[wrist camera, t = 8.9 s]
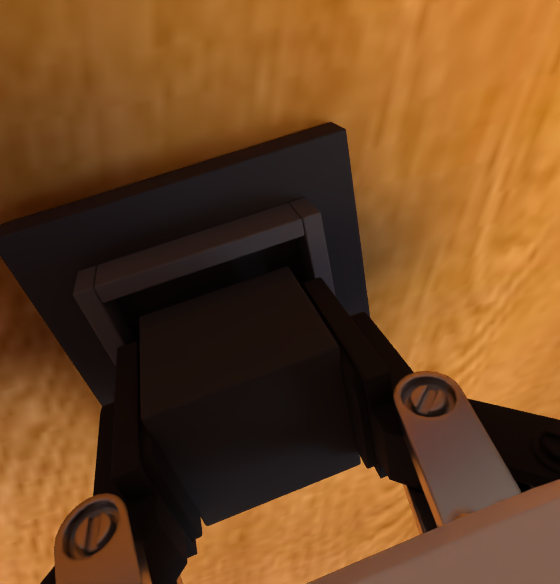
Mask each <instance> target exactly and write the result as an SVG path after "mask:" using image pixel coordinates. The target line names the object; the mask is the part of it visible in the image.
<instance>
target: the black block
mask: <svg viewBox="0 0 560 584" xmlns="http://www.w3.org/2000/svg"><path fill="white" fill-rule="evenodd" d="M139 335H140V397H141V421H142V422H143V424H144V426H145V427H146V429H147V431H148V432H149V434H151V435H152V437H153V438H154V440H155V441H156V443H157V445H158V446H159V448H160V450H161V451H162V453H163V455H164V456H165V458H166V459H167V461H168V463H169V464H170V466H171V468H172V469H173V471H174V472H175V474H176V476H177V477H178V479H179V481H180V482H181V484H182V486H183V487H184V489H185V490H186V492H187V494H188V495H189V497H190V499H191V500H192V502H193V503H194V505H195V507H196V508H197V510H198V512H199V513H200V517H201V518H202V520H203V521H204V523H205V525H206V526H209V525H212V524H214V523H217V522H219V521H222V520H224V519H227V518H229V517H232V516H234V515H236V514H239V513H241V512H244V511H246V510H249V509H251V508H254V507H256V506H259V505H261V504H264V503H266V502H269V501H271V500H274V499H276V498H278V497H281V496H283V495H286V494H288V493H291V492H293V491H296V490H298V489H301V488H303V487H306V486H308V485H311V484H313V483H315V482H318V481H320V480H323V479H325V478H328V477H330V476H333V475H335V474H338V473H340V472H343V471H345V470H348V469H350V468H353V467H355V466H357V465H359V464H360V463H361V461H360V455H359V453H358V451H357V446H356V440H355V435H354V430H353V425H352V420H351V414H350V409H349V404H348V399H347V394H346V388H345V383H344V378H343V373H342V368H341V355H340V350H339V346H338V344H337V343H336V341H335V340H334V338H333V336H332V335H331V333H330V332H329V330H328V329H327V327H326V325H325V324H324V322H323V321H322V319H321V317H320V316H319V314H318V313H317V311H316V310H315V308H314V306H313V305H312V303H311V302H310V300H309V298H308V297H307V295H306V294H305V292H304V291H303V289H302V287H301V286H300V284H299V283H298V281H297V280H296V278H295V276H294V275H293V273H292V272H291V270H290V268H289V267H283V268H280V269H277V270H274V271H272V272H269V273H266V274H263V275H260V276H257V277H254V278H251V279H248V280H245V281H242V282H240V283H237V284H234V285H231V286H228V287H225V288H222V289H219V290H216V291H213V292H210V293H208V294H205V295H202V296H199V297H196V298H193V299H190V300H187V301H184V302H181V303H178V304H176V305H173V306H170V307H167V308H164V309H161V310H158V311H155V312H152V313H149V314H146V315H144V316H141V317H140V318H139Z"/></svg>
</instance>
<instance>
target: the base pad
mask: <svg viewBox="0 0 560 584" xmlns="http://www.w3.org/2000/svg"><path fill="white" fill-rule="evenodd" d="M0 256H1V257H2V259H3V260H4V262H5V263H6V265H7V266H8V268H9V269H10V271H11V272H12V274H13V275H14V277H15V278H16V280H17V281H18V283H19V284H20V286H21V287H22V288H23V290H24V291H25V293H26V294H27V296H28V297H29V299H30V300H31V302H32V303H33V305H34V306H35V308H36V309H37V311H38V312H39V314H40V315H41V317H42V318H43V320H44V321H45V323H46V324H47V325H48V327H49V328H50V330H51V331H52V333H53V334H54V336H55V337H56V339H57V340H58V342H59V343H60V345H61V346H62V348H63V349H64V351H65V352H66V354H67V355H68V357H69V358H70V360H71V361H72V362H73V364H74V365H75V367H76V368H77V370H78V371H79V373H80V374H81V376H82V377H83V379H84V380H85V382H86V383H87V385H88V386H89V388H90V389H91V391H92V392H93V394H94V395H95V397H96V398H97V399H98V401H99V402H100V404H101V405H102V407H103V406H104V405H107V404H110V403H112V402H114V396H115V378H116V359H117V348H118V347H121V346H124V345H127V344H130V343H133V342H135V341H138V340H139V341H140V335H139V318H140V317H141V316H144V315H146V314H149V313H152V312H155V311H158V310H161V309H164V308H167V307H170V306H173V305H176V304H178V303H181V302H184V301H187V300H190V299H193V298H196V297H199V296H202V295H205V294H208V293H210V292H213V291H216V290H219V289H222V288H225V287H228V286H231V285H234V284H237V283H240V282H242V281H245V280H248V279H251V278H254V277H257V276H260V275H263V274H266V273H269V272H272V271H274V270H277V269H280V268H283V267H289V268H290V270H291V272H292V273H293V275H294V276H295V278H296V280H297V281H298V283H299V284H300V286H301V284H302V283H304V282H307V281H310V280H313V279H316V278H318V277H321V278H322V279H323V280H324V282H325V283H326V284H327V286H328V287H329V288H330V290H331V291H332V292H333V294H334V295H335V297H336V298H337V299H338V301H339V302H340V303H341V305H342V306H343V307H344V309H345V310H346V312H347V313H348V314H349V316H352V315H355V314H357V313H360V312H365V313H366V314H367V315H368V316H369V317H370V313H369V305H368V297H367V290H366V282H365V274H364V266H363V259H362V251H361V243H360V235H359V228H358V220H357V212H356V204H355V196H354V189H353V181H352V173H351V165H350V158H349V150H348V142H347V134H346V130H345V129H344V128H342V127H340V126H338V125H336V124H334V123H332V122H330V123H327V124H324V125H321V126H318V127H314V128H311V129H308V130H305V131H301V132H298V133H295V134H292V135H288V136H285V137H282V138H279V139H275V140H272V141H269V142H266V143H262V144H259V145H256V146H253V147H250V148H246V149H243V150H240V151H237V152H233V153H230V154H227V155H224V156H220V157H217V158H214V159H211V160H207V161H204V162H201V163H198V164H194V165H191V166H188V167H185V168H182V169H178V170H175V171H172V172H169V173H165V174H162V175H159V176H156V177H152V178H149V179H146V180H143V181H139V182H136V183H133V184H130V185H126V186H123V187H120V188H117V189H114V190H110V191H107V192H104V193H101V194H97V195H94V196H91V197H88V198H84V199H81V200H78V201H75V202H71V203H68V204H65V205H62V206H58V207H55V208H52V209H49V210H46V211H42V212H39V213H36V214H33V215H29V216H26V217H23V218H20V219H16V220H13V221H10V222H7V223H3V224H1V225H0Z"/></svg>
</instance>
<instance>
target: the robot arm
mask: <svg viewBox="0 0 560 584" xmlns="http://www.w3.org/2000/svg"><path fill="white" fill-rule="evenodd" d="M301 287H302V289H303V291H304V292H305V294H306V295H307V297H308V298H309V300H310V302H311V303H312V305H313V306H314V308H315V310H316V311H317V313H318V314H319V316H320V317H321V319H322V321H323V322H324V324H325V325H326V327H327V329H328V330H329V332H330V333H331V335H332V336H333V338H334V340H335V341H336V343H337V344H338V346H339V350H340V355H341V368H342V373H343V378H344V383H345V388H346V394H347V399H348V404H349V409H350V414H351V420H352V425H353V430H354V435H355V440H356V446H357V451H358V453H359V455H360V457H361V458H362V460H363V462H364V464H365V466H366V467H367V468H371V467H373V466H374V467H375V469H376V471H377V473H378V474H379V476H380V478H383V477H386V476H388V477H389V479H390V480H393V481H396V482H399V483H402V484H403V487H404V490H405V492H406V495H407V498H408V501H409V504H410V507H411V510H412V513H413V516H414V518H415V521H416V524H417V527H418V530H419V533H420V535H419V536H417V537H414V538H412V539H410V540H407V541H405V542H403V543H400V544H398V545H395V546H393V547H391V548H388V549H386V550H384V551H381V552H379V553H377V554H374V555H372V556H370V557H367V558H365V559H363V560H360V561H358V562H356V563H353V564H351V565H349V566H346V567H344V568H342V569H339V570H337V571H335V572H332V573H330V574H328V575H325V576H323V577H321V578H318V579H316V580H314V581H311V582H309V583H307V584H560V420H558V419H554V418H549V417H545V416H541V415H536V414H532V413H528V412H523V411H519V410H514V409H510V408H506V407H501V406H497V405H493V404H488V403H484V402H480V401H475V400H471V399H467V398H466V396H465V394H464V392H463V391H462V389H461V388H460V386H459V385H458V384H457V383H456V382H455V381H454V380H452V379H451V378H449V377H448V376H446V375H443V374H441V373H438V372H431V371H421V372H415V373H414V372H413V371H412V370H411V368H410V367H409V366H408V365H407V363H406V362H405V361H404V360H403V358H402V357H401V356H400V355H399V353H398V352H397V351H396V350H395V348H394V347H393V346H392V345H391V343H390V342H389V341H388V340H387V338H386V337H385V336H384V335H383V333H382V332H381V331H380V330H379V328H378V327H377V326H376V325H375V323H374V322H373V321H372V320H371V318H370V317H369V316H368V315H367V314H366V313H365V312H360V313H357V314H355V315H352V316H349V314H348V313H347V312H346V310H345V309H344V307H343V306H342V305H341V303H340V302H339V301H338V299H337V298H336V297H335V295H334V294H333V292H332V291H331V290H330V288H329V287H328V286H327V284H326V283H325V282H324V280H323V279H322V278H321V277H318V278H316V279H313V280H310V281H307V282H304V283H302V284H301ZM201 536H202V526H201V518H200V513H199V512H198V510H197V508H196V507H195V505H194V503H193V502H192V500H191V499H190V497H189V495H188V494H187V492H186V490H185V489H184V487H183V486H182V484H181V482H180V481H179V479H178V477H177V476H176V474H175V472H174V471H173V469H172V468H171V466H170V464H169V463H168V461H167V459H166V458H165V456H164V455H163V453H162V451H161V450H160V448H159V446H158V445H157V443H156V441H155V440H154V438H153V437H152V435H151V434H149V432H148V431H147V429H146V427H145V426H144V424H143V422H142V421H141V397H140V341H139V340H138V341H135V342H133V343H130V344H127V345H124V346H121V347H118V348H117V359H116V378H115V396H114V402H112V403H110V404H107V405H104V406H103V407H102V408H101V413H100V423H99V435H98V446H97V458H96V469H95V481H94V492H93V497H90V498H88V499H86V500H85V501H83V502H82V503H80V504H79V505H78V506H76V507H75V508H74V509H73V510H72V511H71V512H70V513H69V514H68V515H67V517H66V518H65V520H64V521H63V523H62V524H61V526H60V528H59V530H58V533H57V535H56V538H55V546H54V558H55V566H54V567H53V569H52V570H51V571H50V572H49V573H48V575H47V576H46V577H45V578H44V580H43V581H42V582H41V583H40V584H183V582H182V579H181V576H180V574H181V572H182V571H183V569H184V568H185V566H186V564H187V558H189V557H191V556H193V555H196V554H197V547H196V539H197V538H199V537H201Z"/></svg>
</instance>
